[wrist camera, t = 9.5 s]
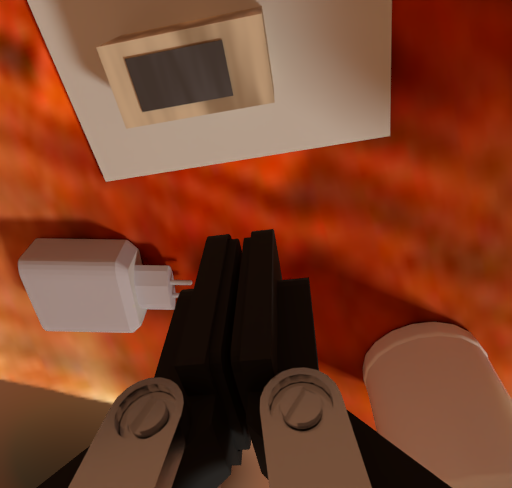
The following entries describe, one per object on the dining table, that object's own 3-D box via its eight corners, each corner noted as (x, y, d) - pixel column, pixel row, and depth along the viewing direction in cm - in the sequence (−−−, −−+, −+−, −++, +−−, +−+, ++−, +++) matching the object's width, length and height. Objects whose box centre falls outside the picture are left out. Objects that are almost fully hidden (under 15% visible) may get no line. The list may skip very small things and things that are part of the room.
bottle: (460, 395, 52) (615, 737, 29) (353, 394, 52) (423, 731, 29) (497, 318, 44) (752, 708, 21) (370, 317, 44) (484, 701, 21)
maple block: (261, 13, 22) (95, 47, 24) (274, 103, 25) (125, 129, 26) (262, 6, 27) (121, 35, 28) (273, 83, 29) (145, 106, 31)
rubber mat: (391, -134, 23) (394, -136, 22) (388, 133, 32) (389, 135, 31) (13, -43, 26) (7, -44, 25) (108, 178, 35) (105, 181, 34)
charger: (199, 305, 44) (64, 303, 44) (192, 236, 38) (39, 233, 39) (193, 339, 40) (45, 335, 40) (184, 266, 35) (13, 263, 35)
